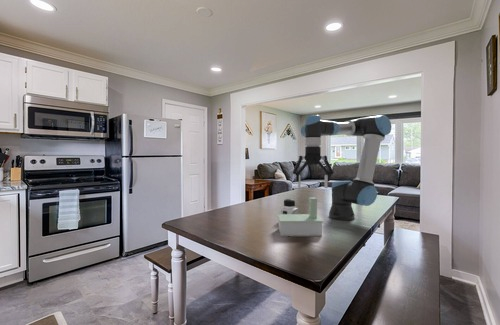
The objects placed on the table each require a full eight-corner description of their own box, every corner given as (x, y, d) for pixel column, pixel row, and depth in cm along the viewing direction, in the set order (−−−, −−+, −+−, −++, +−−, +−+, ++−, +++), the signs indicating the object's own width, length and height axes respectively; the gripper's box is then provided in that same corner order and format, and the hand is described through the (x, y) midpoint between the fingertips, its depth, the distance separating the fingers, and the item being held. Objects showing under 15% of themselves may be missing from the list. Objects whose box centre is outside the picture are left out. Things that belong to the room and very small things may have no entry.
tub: (315, 228, 131) (315, 215, 131) (322, 236, 119) (322, 222, 119) (278, 228, 132) (278, 216, 131) (281, 236, 120) (281, 222, 119)
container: (292, 223, 141) (292, 201, 140) (280, 221, 146) (280, 199, 145) (298, 220, 147) (298, 199, 147) (286, 218, 152) (286, 198, 151)
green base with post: (316, 215, 131) (316, 195, 131) (323, 222, 118) (323, 200, 118) (277, 215, 132) (277, 196, 131) (280, 222, 119) (280, 200, 118)
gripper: (335, 146, 127) (334, 186, 128) (287, 146, 127) (287, 186, 128) (340, 145, 120) (339, 188, 120) (289, 146, 120) (289, 188, 121)
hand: (312, 187), depth 124 cm, fingers open, 13 cm apart
